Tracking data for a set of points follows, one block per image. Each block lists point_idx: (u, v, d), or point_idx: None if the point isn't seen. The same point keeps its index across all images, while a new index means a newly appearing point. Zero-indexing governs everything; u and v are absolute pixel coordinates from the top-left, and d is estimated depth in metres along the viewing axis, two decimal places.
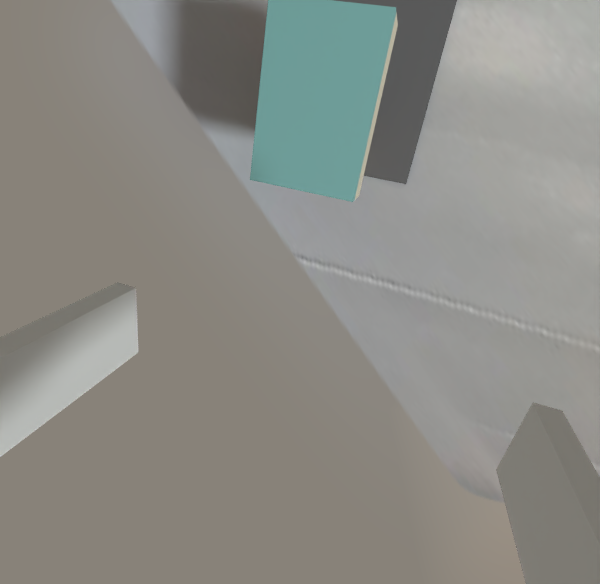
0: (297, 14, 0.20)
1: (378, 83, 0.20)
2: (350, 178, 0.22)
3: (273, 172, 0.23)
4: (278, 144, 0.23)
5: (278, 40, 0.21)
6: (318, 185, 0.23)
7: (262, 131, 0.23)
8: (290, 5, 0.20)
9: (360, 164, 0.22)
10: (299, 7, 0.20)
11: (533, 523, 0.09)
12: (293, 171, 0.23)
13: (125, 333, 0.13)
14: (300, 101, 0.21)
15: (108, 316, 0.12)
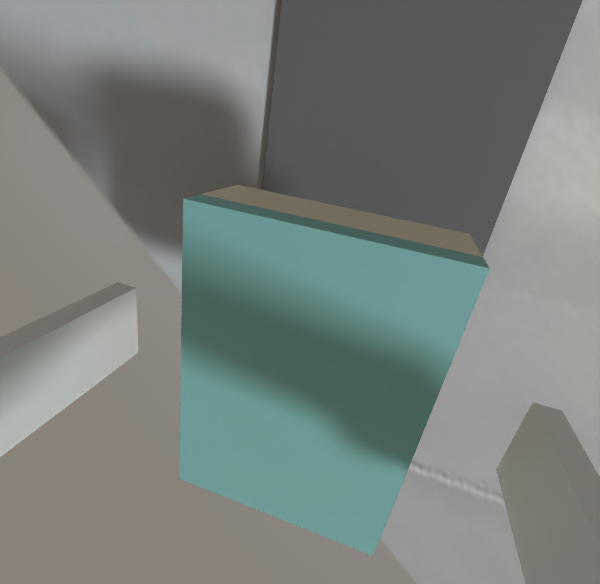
0: (248, 246, 0.09)
1: (434, 395, 0.09)
2: (368, 524, 0.11)
3: (220, 479, 0.12)
4: (226, 444, 0.12)
5: (211, 286, 0.09)
6: (305, 517, 0.12)
7: (194, 420, 0.12)
8: (232, 227, 0.09)
9: (389, 508, 0.11)
10: (252, 234, 0.09)
11: (533, 523, 0.09)
12: (257, 488, 0.12)
13: (125, 333, 0.13)
14: (263, 392, 0.10)
15: (108, 316, 0.12)
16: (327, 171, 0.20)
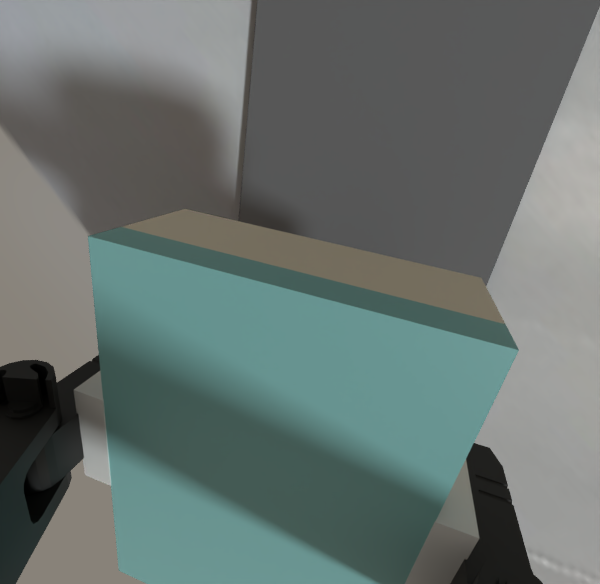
0: (178, 303, 0.06)
1: (436, 507, 0.06)
2: None
3: (167, 577, 0.10)
4: (170, 538, 0.09)
5: (135, 350, 0.07)
6: None
7: (129, 508, 0.09)
8: (155, 276, 0.06)
9: None
10: (182, 287, 0.06)
11: None
12: None
13: None
14: (211, 484, 0.08)
15: None
16: (312, 184, 0.18)
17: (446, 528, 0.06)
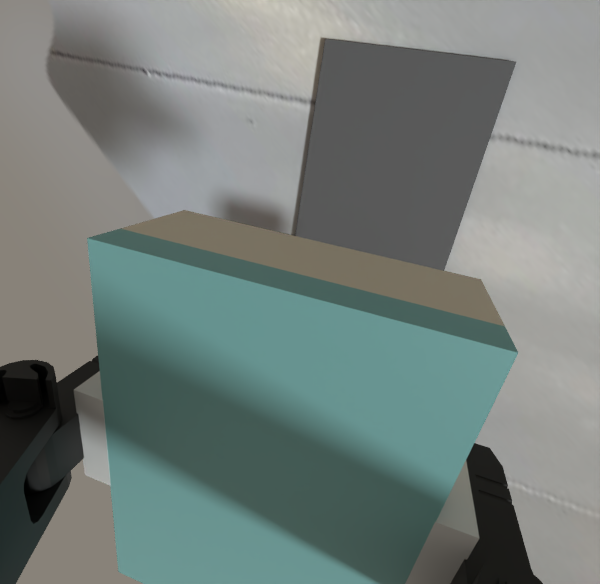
0: (177, 305, 0.06)
1: (436, 509, 0.06)
2: None
3: (167, 578, 0.10)
4: (169, 540, 0.09)
5: (134, 352, 0.07)
6: None
7: (129, 509, 0.09)
8: (154, 278, 0.06)
9: None
10: (181, 289, 0.06)
11: None
12: None
13: None
14: (210, 486, 0.08)
15: None
16: (335, 243, 0.32)
17: (446, 528, 0.06)
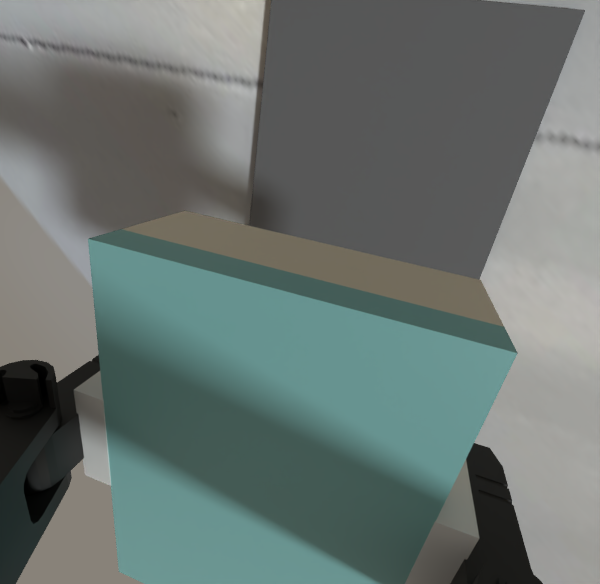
0: (178, 305, 0.06)
1: (436, 509, 0.06)
2: None
3: (167, 578, 0.10)
4: (170, 540, 0.09)
5: (135, 352, 0.07)
6: None
7: (129, 509, 0.09)
8: (154, 279, 0.06)
9: None
10: (181, 289, 0.06)
11: None
12: None
13: None
14: (210, 486, 0.08)
15: None
16: None
17: (446, 528, 0.06)
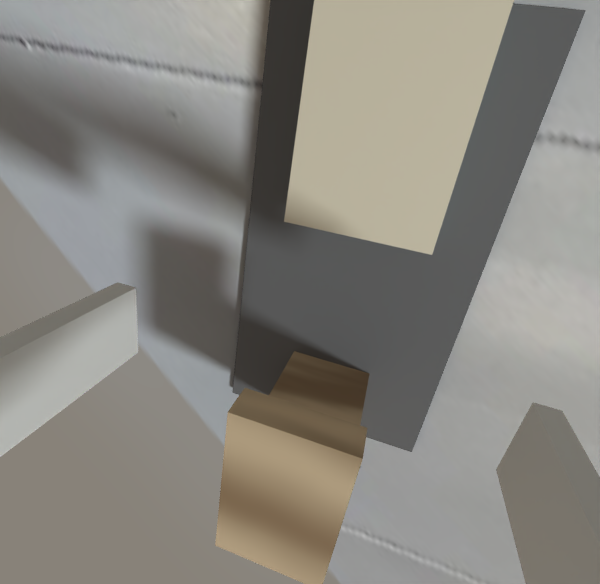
0: None
1: None
2: None
3: None
4: None
5: None
6: None
7: None
8: None
9: None
10: None
11: (534, 523, 0.09)
12: None
13: (125, 333, 0.13)
14: None
15: (108, 316, 0.12)
16: (300, 291, 0.22)
17: None
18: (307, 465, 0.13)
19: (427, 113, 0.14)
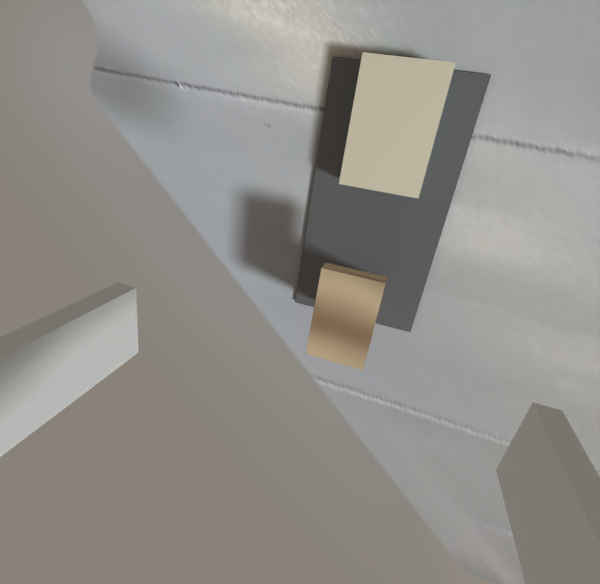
0: None
1: None
2: None
3: None
4: None
5: None
6: None
7: None
8: None
9: None
10: None
11: (533, 523, 0.09)
12: None
13: (125, 333, 0.13)
14: None
15: (108, 316, 0.12)
16: (342, 230, 0.37)
17: None
18: (359, 292, 0.28)
19: (414, 126, 0.29)
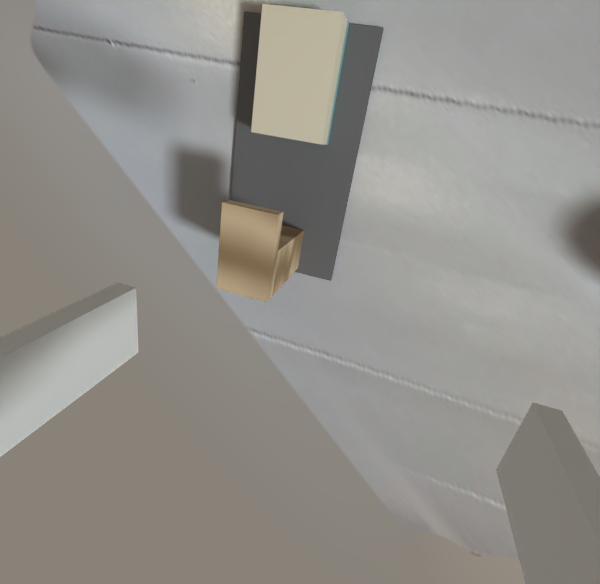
0: None
1: (334, 105, 0.34)
2: None
3: None
4: None
5: None
6: None
7: None
8: None
9: (343, 52, 0.33)
10: None
11: (533, 523, 0.09)
12: None
13: (125, 333, 0.13)
14: None
15: (109, 316, 0.12)
16: (264, 181, 0.39)
17: None
18: (256, 224, 0.30)
19: (312, 74, 0.31)
